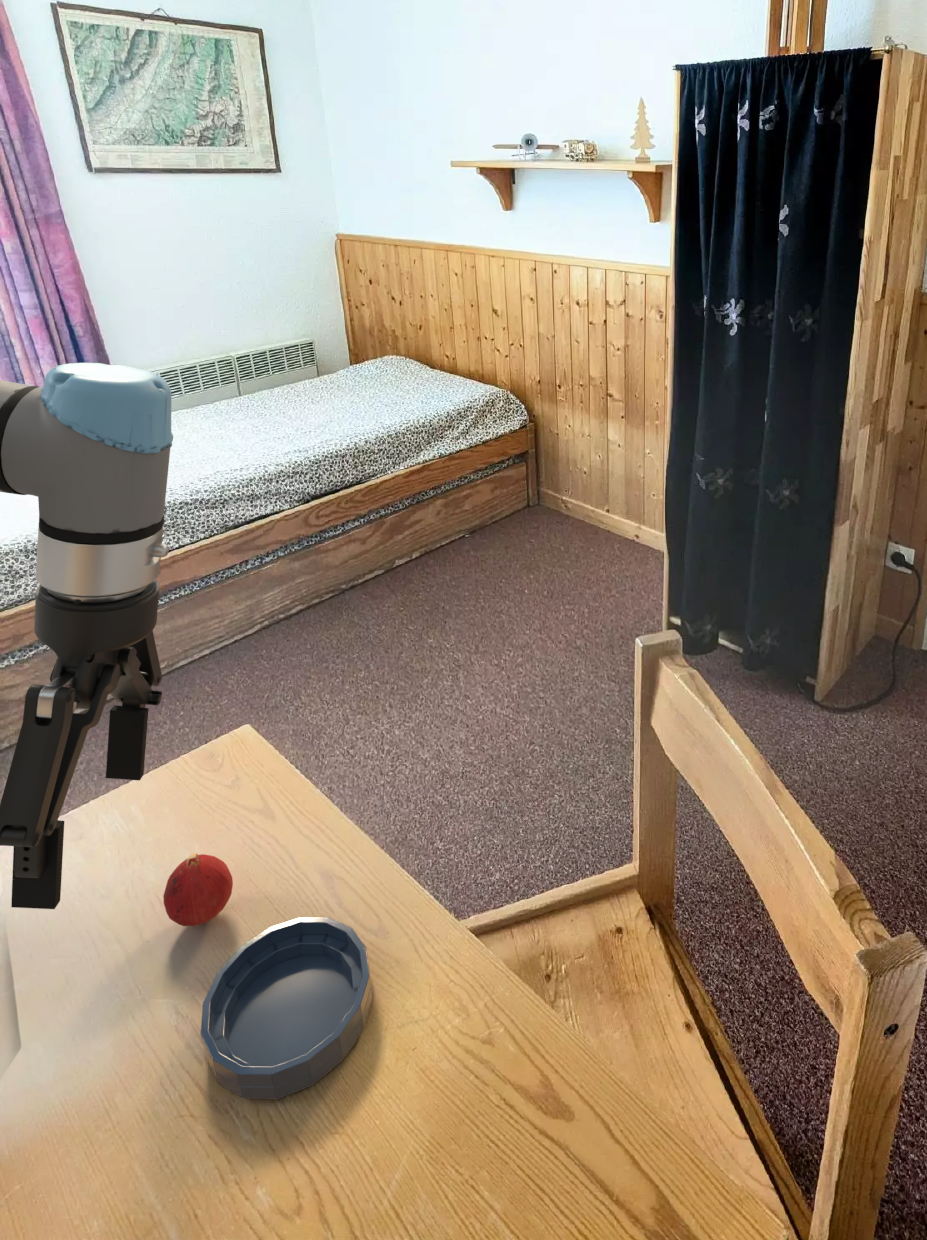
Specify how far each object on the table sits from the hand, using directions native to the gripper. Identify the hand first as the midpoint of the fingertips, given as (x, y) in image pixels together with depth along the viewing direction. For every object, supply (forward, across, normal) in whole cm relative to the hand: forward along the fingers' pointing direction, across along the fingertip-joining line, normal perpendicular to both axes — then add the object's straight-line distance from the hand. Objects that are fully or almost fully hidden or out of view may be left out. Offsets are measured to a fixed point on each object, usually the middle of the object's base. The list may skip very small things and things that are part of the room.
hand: (85, 833), depth 61 cm
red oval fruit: (+18, +11, -7) cm, 22 cm away
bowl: (+17, 0, -17) cm, 24 cm away
